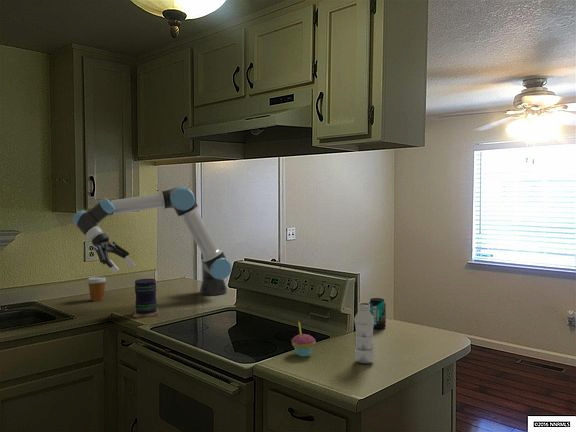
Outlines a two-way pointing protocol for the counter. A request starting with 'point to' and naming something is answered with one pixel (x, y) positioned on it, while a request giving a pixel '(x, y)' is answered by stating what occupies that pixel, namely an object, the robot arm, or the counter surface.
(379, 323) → the beverage can
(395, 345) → the counter surface
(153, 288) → the storage jar
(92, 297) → the disposable coffee cup
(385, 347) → the counter surface
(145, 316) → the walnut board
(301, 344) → the cupcake
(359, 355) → the plastic bottle
